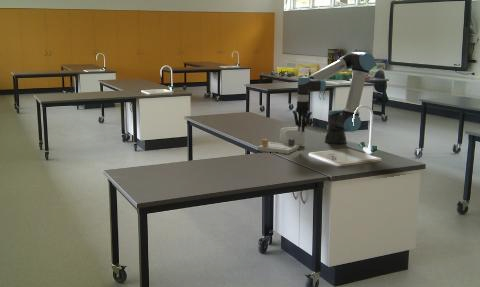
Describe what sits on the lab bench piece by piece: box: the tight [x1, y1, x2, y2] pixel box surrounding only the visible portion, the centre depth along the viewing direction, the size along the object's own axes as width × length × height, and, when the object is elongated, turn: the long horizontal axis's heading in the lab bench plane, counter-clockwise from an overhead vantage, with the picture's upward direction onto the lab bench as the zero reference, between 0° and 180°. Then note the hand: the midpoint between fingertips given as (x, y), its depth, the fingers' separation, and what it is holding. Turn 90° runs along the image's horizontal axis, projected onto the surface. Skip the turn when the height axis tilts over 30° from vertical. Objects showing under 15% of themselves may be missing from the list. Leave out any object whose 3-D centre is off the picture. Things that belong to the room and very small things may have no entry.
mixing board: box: [257, 141, 300, 155], centre depth 352 cm, size 22×17×3 cm
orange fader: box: [261, 138, 269, 146], centre depth 350 cm, size 3×3×4 cm
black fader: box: [288, 138, 295, 146], centre depth 353 cm, size 3×3×4 cm
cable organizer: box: [279, 126, 306, 147], centre depth 366 cm, size 15×11×12 cm
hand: (300, 136), depth 348 cm, fingers closed
